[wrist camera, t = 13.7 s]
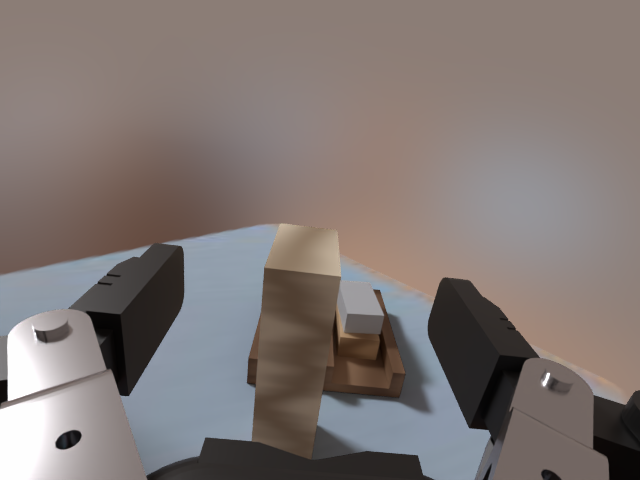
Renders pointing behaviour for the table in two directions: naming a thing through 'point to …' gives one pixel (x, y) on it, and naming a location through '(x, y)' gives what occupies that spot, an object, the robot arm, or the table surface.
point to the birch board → (295, 336)
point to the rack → (355, 365)
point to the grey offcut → (359, 308)
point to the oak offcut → (355, 342)
